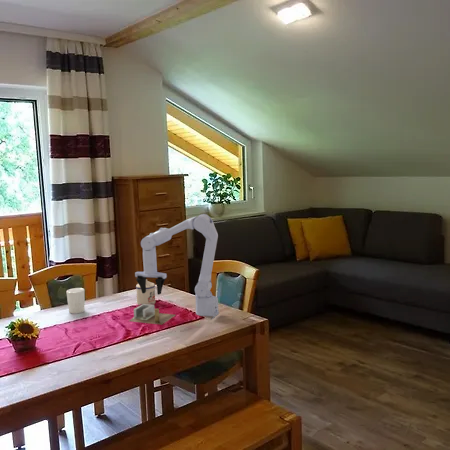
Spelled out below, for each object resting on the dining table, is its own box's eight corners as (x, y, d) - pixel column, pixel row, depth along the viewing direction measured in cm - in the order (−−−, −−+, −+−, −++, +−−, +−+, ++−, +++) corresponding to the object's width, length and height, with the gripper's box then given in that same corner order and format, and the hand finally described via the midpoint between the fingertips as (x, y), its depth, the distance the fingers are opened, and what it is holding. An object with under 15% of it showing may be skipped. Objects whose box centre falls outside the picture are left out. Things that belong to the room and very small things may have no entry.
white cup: (88, 308, 230) (86, 287, 229) (81, 314, 223) (80, 292, 221) (72, 308, 231) (70, 287, 230) (65, 314, 223) (63, 292, 222)
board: (176, 316, 215) (175, 302, 214) (162, 327, 203) (161, 311, 202) (144, 313, 221) (143, 299, 220) (128, 323, 209) (127, 308, 208)
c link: (143, 312, 219) (143, 303, 218) (154, 313, 217) (154, 304, 216) (134, 318, 211) (133, 309, 211) (145, 319, 209) (145, 310, 209)
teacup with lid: (151, 306, 230) (150, 282, 229) (133, 305, 233) (132, 281, 231) (161, 299, 242) (159, 276, 240) (143, 298, 244) (142, 275, 243)
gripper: (130, 264, 214) (132, 294, 216) (160, 266, 209) (162, 297, 211) (139, 260, 221) (140, 290, 222) (168, 262, 215) (169, 292, 217)
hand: (151, 293), depth 217 cm, fingers open, 7 cm apart
